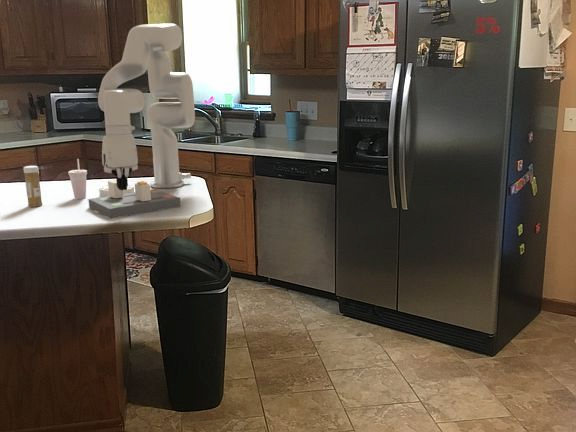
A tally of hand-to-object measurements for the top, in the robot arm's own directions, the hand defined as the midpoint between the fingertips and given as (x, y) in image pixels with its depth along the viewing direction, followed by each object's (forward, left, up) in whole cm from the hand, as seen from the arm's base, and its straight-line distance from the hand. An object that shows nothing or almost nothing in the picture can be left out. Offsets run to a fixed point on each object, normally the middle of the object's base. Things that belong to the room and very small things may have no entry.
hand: (122, 189), depth 195 cm
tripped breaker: (-7, 0, -4) cm, 8 cm away
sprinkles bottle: (+19, -29, -8) cm, 36 cm away
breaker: (-2, -10, -4) cm, 11 cm away
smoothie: (+3, -31, -8) cm, 32 cm away
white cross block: (-9, -27, -8) cm, 30 cm away
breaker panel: (-6, -5, -8) cm, 11 cm away
